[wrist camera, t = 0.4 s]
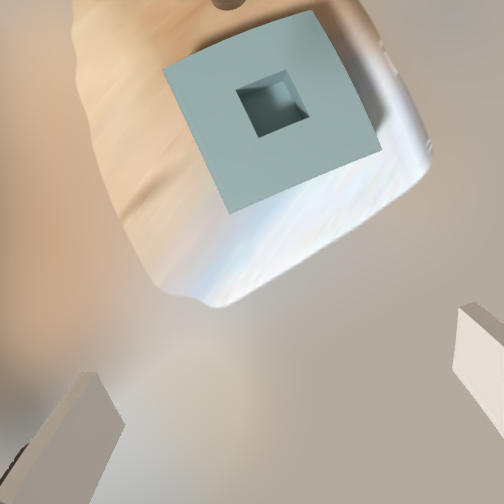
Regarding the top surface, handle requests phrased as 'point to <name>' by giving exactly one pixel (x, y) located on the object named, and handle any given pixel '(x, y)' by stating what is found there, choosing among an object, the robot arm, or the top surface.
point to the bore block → (271, 109)
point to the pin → (227, 4)
